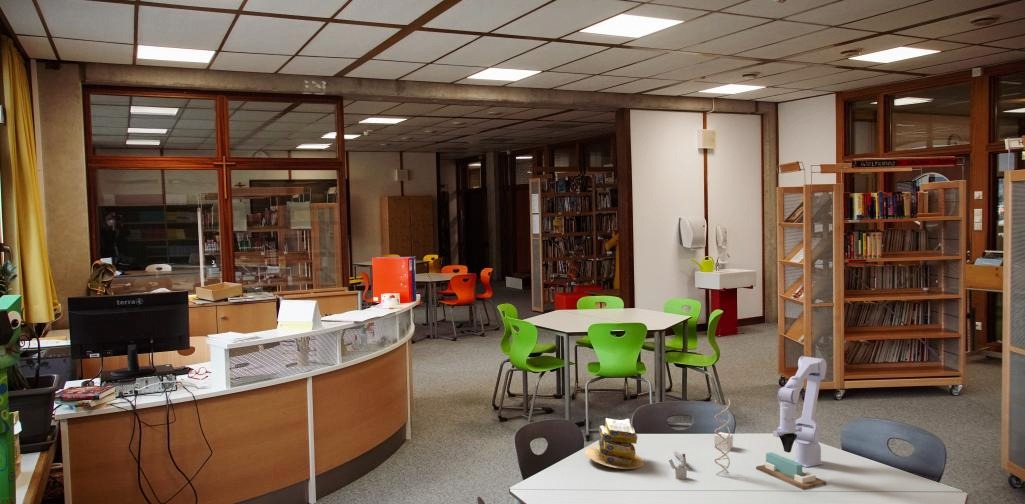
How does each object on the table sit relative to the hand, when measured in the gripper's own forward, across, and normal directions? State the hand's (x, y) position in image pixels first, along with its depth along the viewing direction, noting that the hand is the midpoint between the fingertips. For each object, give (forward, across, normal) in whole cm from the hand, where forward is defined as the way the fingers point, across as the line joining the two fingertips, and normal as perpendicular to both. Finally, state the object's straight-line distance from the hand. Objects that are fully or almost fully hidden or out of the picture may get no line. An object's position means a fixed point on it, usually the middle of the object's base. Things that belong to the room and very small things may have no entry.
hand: (787, 451), depth 279 cm
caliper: (+10, +25, -34) cm, 43 cm away
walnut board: (+9, 0, +2) cm, 10 cm away
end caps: (+9, 0, +2) cm, 10 cm away
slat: (+8, 0, -2) cm, 9 cm away
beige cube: (+10, -3, -36) cm, 38 cm away
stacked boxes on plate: (+10, +49, -48) cm, 69 cm away
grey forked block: (+10, +40, -20) cm, 45 cm away
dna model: (+10, +21, -14) cm, 27 cm away
